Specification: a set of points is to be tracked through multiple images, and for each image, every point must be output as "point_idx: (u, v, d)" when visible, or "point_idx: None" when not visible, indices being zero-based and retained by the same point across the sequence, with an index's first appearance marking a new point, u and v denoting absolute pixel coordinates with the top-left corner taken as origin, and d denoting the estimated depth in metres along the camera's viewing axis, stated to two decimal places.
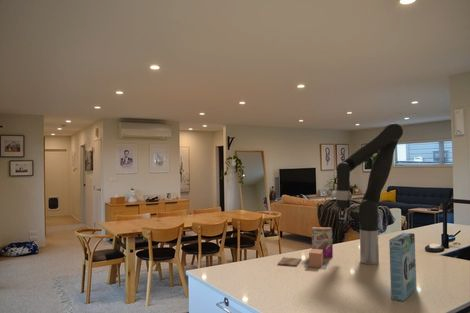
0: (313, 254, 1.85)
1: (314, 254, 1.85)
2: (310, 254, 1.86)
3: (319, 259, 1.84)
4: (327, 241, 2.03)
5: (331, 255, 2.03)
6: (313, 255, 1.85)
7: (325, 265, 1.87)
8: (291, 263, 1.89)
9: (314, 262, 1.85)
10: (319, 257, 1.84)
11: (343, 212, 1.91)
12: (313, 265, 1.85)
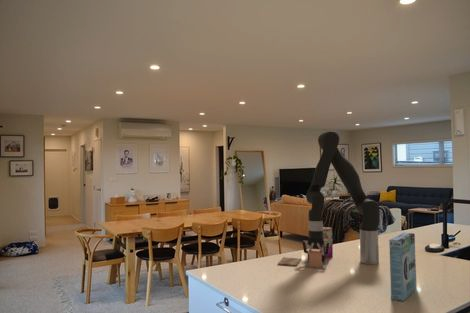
0: (313, 254, 1.85)
1: (314, 254, 1.85)
2: (310, 254, 1.86)
3: (319, 259, 1.84)
4: (327, 241, 2.03)
5: (331, 255, 2.03)
6: (313, 255, 1.85)
7: (325, 265, 1.87)
8: (291, 263, 1.89)
9: (314, 262, 1.85)
10: (319, 257, 1.84)
11: (329, 243, 1.88)
12: (313, 265, 1.85)
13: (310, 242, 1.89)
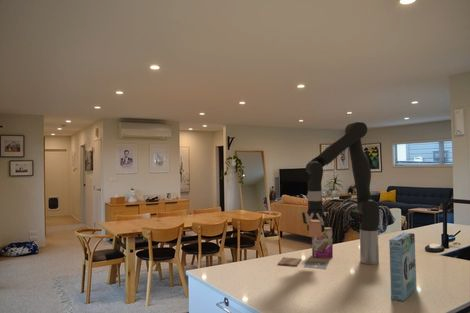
0: (313, 224, 1.85)
1: (314, 224, 1.85)
2: (310, 224, 1.86)
3: (319, 229, 1.84)
4: (327, 241, 2.03)
5: (331, 255, 2.03)
6: (313, 225, 1.85)
7: (325, 265, 1.87)
8: (291, 263, 1.89)
9: (314, 232, 1.85)
10: (319, 227, 1.84)
11: (328, 213, 1.88)
12: (313, 235, 1.85)
13: (310, 212, 1.89)
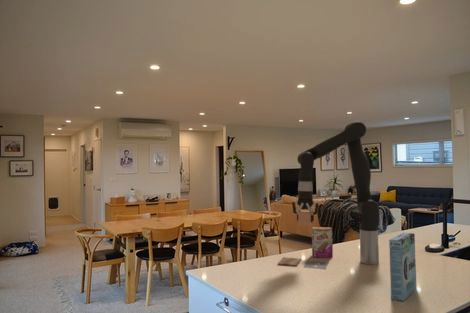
0: (302, 214, 1.87)
1: (303, 213, 1.87)
2: (299, 214, 1.88)
3: (308, 218, 1.86)
4: (327, 241, 2.03)
5: (331, 255, 2.03)
6: (302, 214, 1.87)
7: (325, 265, 1.87)
8: (291, 263, 1.89)
9: (303, 222, 1.87)
10: (308, 216, 1.86)
11: (318, 204, 1.90)
12: (302, 224, 1.87)
13: (299, 202, 1.91)
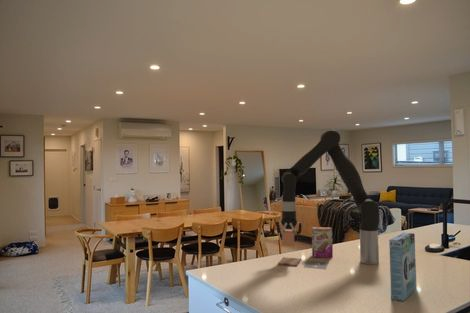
0: (286, 233, 1.90)
1: (287, 233, 1.90)
2: (283, 233, 1.91)
3: (291, 238, 1.89)
4: (327, 241, 2.03)
5: (331, 255, 2.03)
6: (286, 234, 1.90)
7: (325, 265, 1.87)
8: (291, 263, 1.89)
9: (287, 241, 1.90)
10: (291, 236, 1.89)
11: None
12: (286, 244, 1.90)
13: (283, 222, 1.94)
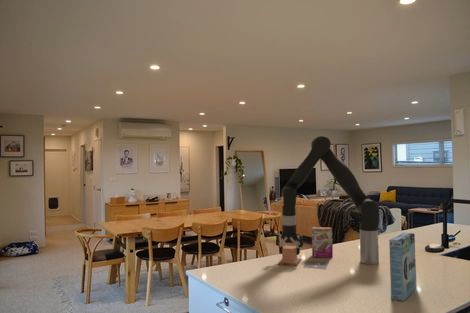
0: (286, 250, 1.90)
1: (287, 250, 1.90)
2: (283, 250, 1.91)
3: (292, 255, 1.89)
4: (327, 241, 2.03)
5: (331, 255, 2.03)
6: (286, 251, 1.90)
7: (325, 265, 1.87)
8: (291, 263, 1.89)
9: (287, 259, 1.90)
10: (292, 253, 1.89)
11: (302, 236, 1.92)
12: (286, 261, 1.90)
13: (284, 236, 1.94)
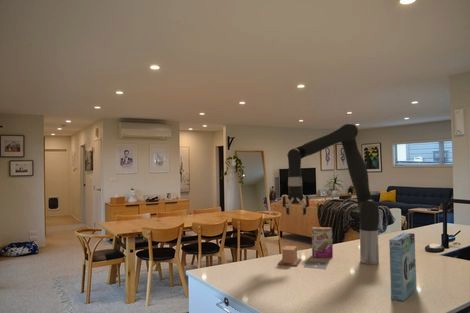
0: (286, 250, 1.90)
1: (287, 250, 1.90)
2: (283, 250, 1.91)
3: (292, 255, 1.89)
4: (327, 241, 2.03)
5: (331, 255, 2.03)
6: (286, 251, 1.90)
7: (325, 265, 1.87)
8: (291, 263, 1.89)
9: (287, 259, 1.90)
10: (292, 253, 1.89)
11: (308, 197, 1.97)
12: (286, 261, 1.90)
13: (290, 197, 1.98)
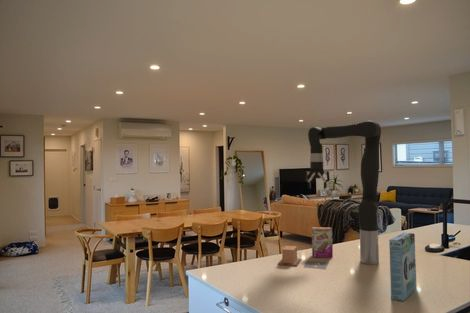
0: (286, 250, 1.90)
1: (287, 250, 1.90)
2: (283, 250, 1.91)
3: (292, 255, 1.89)
4: (327, 241, 2.03)
5: (331, 255, 2.03)
6: (286, 251, 1.90)
7: (325, 265, 1.87)
8: (291, 263, 1.89)
9: (287, 259, 1.90)
10: (292, 253, 1.89)
11: (328, 172, 2.12)
12: (286, 261, 1.90)
13: (312, 172, 2.13)
